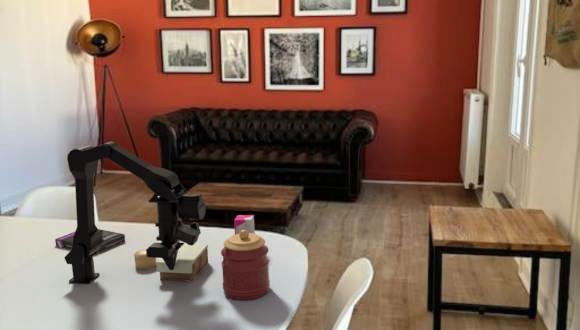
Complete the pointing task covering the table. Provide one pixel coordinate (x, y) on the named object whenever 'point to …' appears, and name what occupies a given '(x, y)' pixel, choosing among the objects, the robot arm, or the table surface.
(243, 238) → the canister
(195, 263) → the walnut box
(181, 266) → the lid
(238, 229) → the supplement box
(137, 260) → the dome push button
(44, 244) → the table surface
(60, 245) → the box
